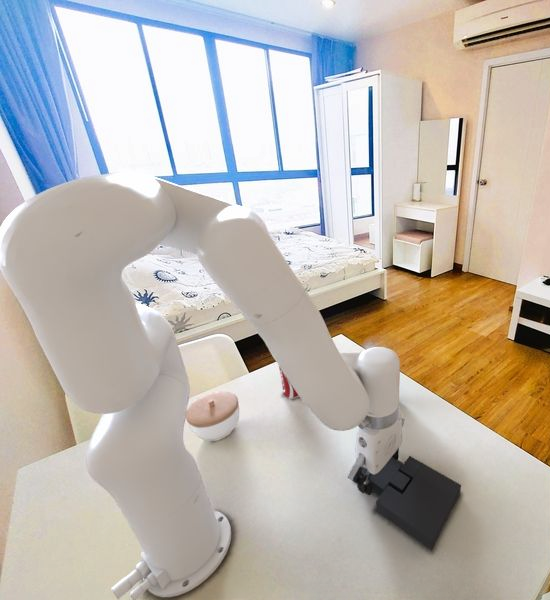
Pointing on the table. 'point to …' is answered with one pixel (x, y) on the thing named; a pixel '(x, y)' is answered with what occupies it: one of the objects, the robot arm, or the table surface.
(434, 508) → the large pad
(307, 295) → the robot arm
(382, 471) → the small pad
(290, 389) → the soda can
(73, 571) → the table surface
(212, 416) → the trinket box
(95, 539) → the table surface
